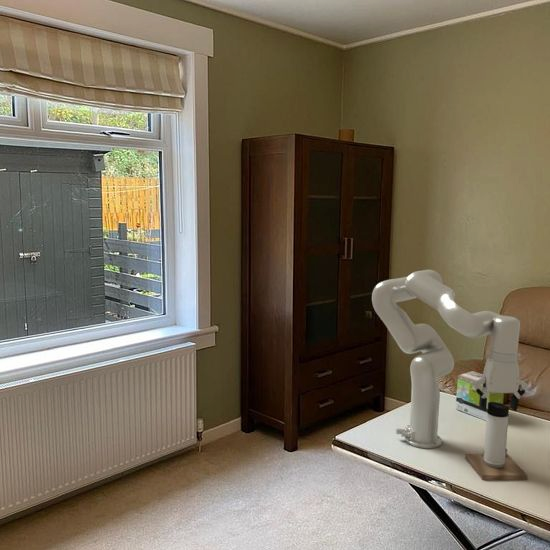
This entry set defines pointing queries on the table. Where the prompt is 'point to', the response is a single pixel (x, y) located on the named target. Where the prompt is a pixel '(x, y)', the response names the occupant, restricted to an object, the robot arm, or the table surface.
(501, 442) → the travel mug
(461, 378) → the tea box
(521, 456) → the table surface
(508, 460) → the walnut board
